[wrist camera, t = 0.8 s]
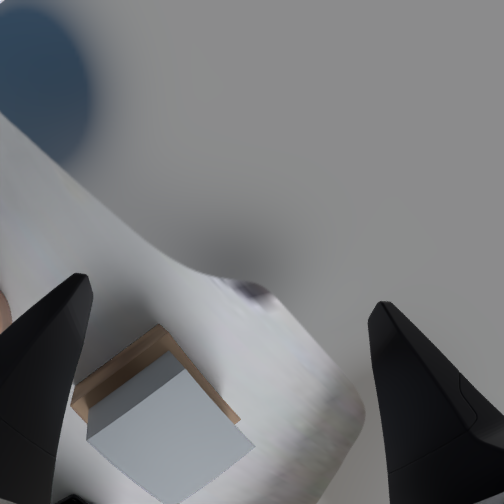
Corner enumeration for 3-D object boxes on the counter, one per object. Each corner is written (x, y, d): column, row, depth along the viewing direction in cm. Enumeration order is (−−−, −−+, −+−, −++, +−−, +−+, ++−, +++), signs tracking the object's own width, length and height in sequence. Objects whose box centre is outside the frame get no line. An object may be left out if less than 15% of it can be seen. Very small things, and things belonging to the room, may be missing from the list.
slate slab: (157, 473, 16) (171, 508, 12) (88, 409, 14) (86, 440, 11) (228, 420, 18) (255, 446, 15) (168, 350, 17) (185, 368, 13)
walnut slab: (145, 456, 19) (155, 484, 15) (75, 384, 17) (70, 405, 14) (220, 399, 22) (241, 419, 19) (158, 323, 21) (168, 332, 17)
